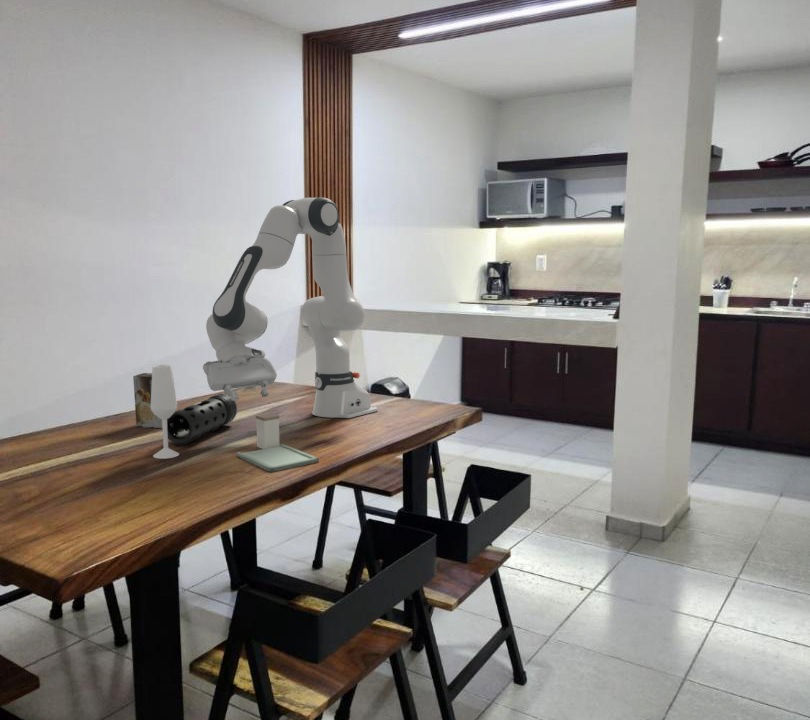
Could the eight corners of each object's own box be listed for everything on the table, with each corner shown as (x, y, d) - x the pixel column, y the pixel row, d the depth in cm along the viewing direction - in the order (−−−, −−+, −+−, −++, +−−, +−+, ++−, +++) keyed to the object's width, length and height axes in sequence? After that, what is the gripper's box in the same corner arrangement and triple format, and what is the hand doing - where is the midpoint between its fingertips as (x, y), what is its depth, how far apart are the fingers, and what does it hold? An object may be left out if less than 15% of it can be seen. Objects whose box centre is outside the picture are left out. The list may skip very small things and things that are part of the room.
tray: (283, 447, 201) (283, 444, 201) (318, 461, 187) (318, 458, 187) (236, 456, 192) (236, 452, 192) (270, 472, 178) (270, 468, 178)
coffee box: (172, 424, 228) (170, 373, 226) (161, 428, 222) (159, 376, 219) (146, 422, 230) (144, 372, 228) (134, 426, 224) (132, 375, 222)
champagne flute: (178, 450, 197) (174, 363, 194) (180, 457, 191) (176, 367, 187) (152, 452, 195) (148, 364, 191) (153, 459, 189) (148, 368, 185)
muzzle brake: (162, 446, 202) (161, 410, 201) (213, 423, 229) (212, 391, 227) (193, 448, 200) (192, 412, 198) (240, 425, 227) (239, 393, 225)
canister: (271, 444, 204) (270, 412, 203) (280, 447, 201) (279, 415, 199) (256, 446, 201) (255, 415, 200) (264, 450, 198) (264, 418, 196)
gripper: (203, 355, 203) (220, 395, 197) (268, 350, 216) (286, 387, 210) (197, 369, 207) (213, 408, 201) (261, 363, 220) (278, 399, 214)
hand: (251, 397), depth 206 cm, fingers open, 8 cm apart
